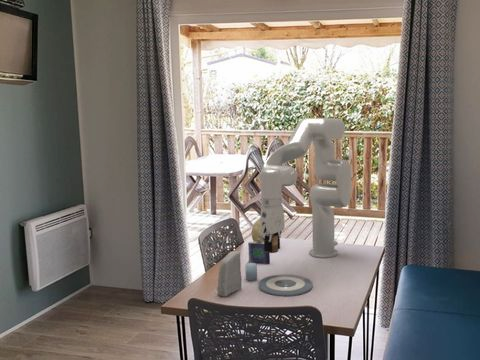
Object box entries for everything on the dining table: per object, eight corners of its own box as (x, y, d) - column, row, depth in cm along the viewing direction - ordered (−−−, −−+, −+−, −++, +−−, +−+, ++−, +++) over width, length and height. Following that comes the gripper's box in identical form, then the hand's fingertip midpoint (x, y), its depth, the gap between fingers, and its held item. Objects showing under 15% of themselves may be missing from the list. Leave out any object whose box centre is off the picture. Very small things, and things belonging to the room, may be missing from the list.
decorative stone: (228, 298, 186) (226, 257, 184) (214, 295, 189) (212, 255, 187) (244, 288, 195) (242, 249, 193) (230, 285, 198) (229, 247, 196)
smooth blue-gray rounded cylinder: (250, 276, 207) (249, 262, 206) (259, 278, 205) (258, 263, 204) (243, 279, 204) (243, 265, 203) (252, 282, 201) (252, 267, 200)
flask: (248, 263, 224) (247, 238, 222) (250, 260, 227) (249, 236, 225) (268, 264, 221) (268, 240, 219) (270, 262, 224) (270, 238, 222)
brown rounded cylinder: (280, 250, 198) (280, 235, 197) (273, 253, 194) (273, 237, 193) (270, 248, 200) (270, 233, 199) (263, 251, 197) (263, 236, 196)
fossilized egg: (282, 245, 248) (282, 214, 246) (274, 253, 237) (274, 220, 234) (257, 243, 253) (256, 212, 250) (248, 250, 241) (247, 219, 239)
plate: (277, 273, 210) (277, 270, 210) (322, 283, 198) (322, 280, 198) (247, 289, 194) (247, 286, 194) (294, 300, 182) (294, 297, 182)
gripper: (266, 207, 185) (267, 257, 188) (292, 199, 199) (292, 246, 201) (249, 205, 190) (250, 254, 193) (275, 197, 203) (276, 243, 206)
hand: (272, 249), depth 197 cm, fingers closed on brown rounded cylinder, 4 cm apart
